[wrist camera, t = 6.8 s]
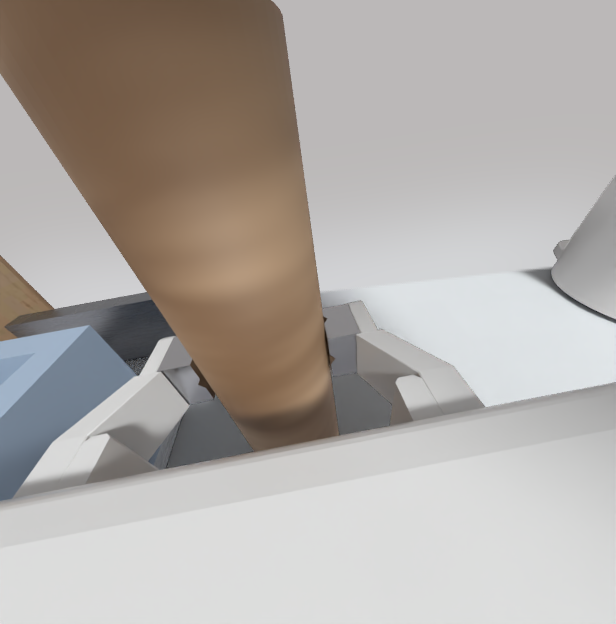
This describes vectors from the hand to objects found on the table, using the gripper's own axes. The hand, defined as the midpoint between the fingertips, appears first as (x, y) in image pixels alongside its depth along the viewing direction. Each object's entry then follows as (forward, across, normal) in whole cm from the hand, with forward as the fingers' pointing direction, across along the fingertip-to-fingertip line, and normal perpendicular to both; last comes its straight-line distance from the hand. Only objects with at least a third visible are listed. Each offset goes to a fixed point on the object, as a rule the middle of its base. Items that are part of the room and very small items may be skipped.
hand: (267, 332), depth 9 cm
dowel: (-1, 0, +9) cm, 9 cm away
